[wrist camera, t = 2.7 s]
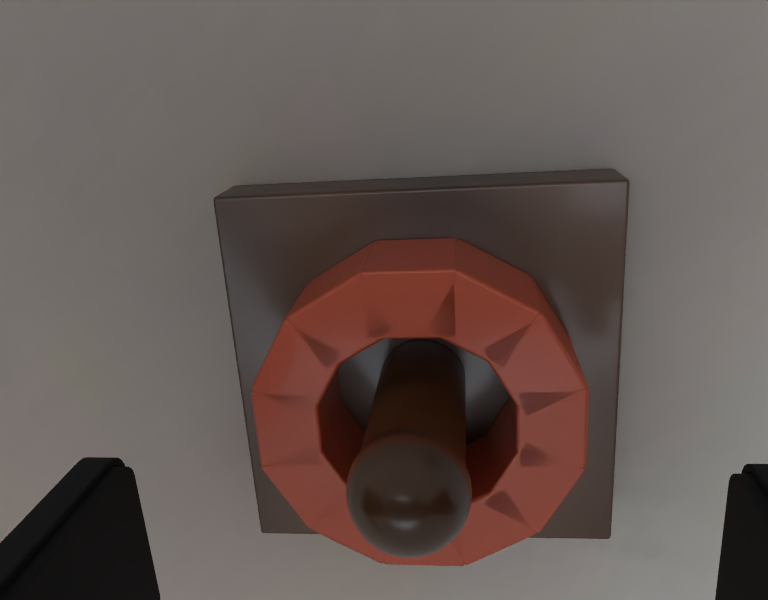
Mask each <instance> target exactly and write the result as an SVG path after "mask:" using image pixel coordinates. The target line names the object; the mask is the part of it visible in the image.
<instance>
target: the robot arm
mask: <svg viewBox="0 0 768 600" xmlns="http://www.w3.org/2000/svg"><path fill="white" fill-rule="evenodd" d="M0 600H160V593H159V589H158V584H157V579H156V574H155V570H154V565H153V560H152V555H151V551H150V546H149V541H148V536H147V532H146V527H145V522H144V517H143V513H142V508H141V503H140V498H139V494H138V489H137V484H136V479H135V475H134V472H133V470H132V469H131V468H130V467H125V465H124V463H123V461H122V460H121V459H119V458H95V457H87V458H83V459H81V460H80V461H79V462H78V463H77V464H76V465H75V466H74V467H73V468H72V469H71V470H70V471H69V472H68V473H67V474H66V475H65V476H64V477H63V478H62V479H61V480H60V481H59V482H58V484H57V485H56V486H55V487H54V488H53V489H52V490H51V491H50V492H49V493H48V494H47V495H46V496H45V497H44V498H43V499H42V500H41V501H40V502H39V503H38V504H37V505H36V506H35V508H34V509H33V510H32V511H31V512H30V513H29V514H28V515H27V516H26V517H25V518H24V519H23V520H22V521H21V522H20V523H19V524H18V525H17V526H16V527H15V528H14V529H13V530H12V532H11V533H10V534H9V535H8V536H7V537H6V538H5V539H4V540H3V541H2V542H1V543H0ZM715 600H768V464H747V465H745V466H744V468H743V470H742V474H732V475H731V477H730V480H729V486H728V495H727V504H726V512H725V521H724V529H723V538H722V546H721V555H720V564H719V572H718V581H717V589H716V598H715Z"/></svg>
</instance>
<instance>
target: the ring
mask: <svg viewBox="0 0 768 600" xmlns="http://www.w3.org/2000/svg"><path fill="white" fill-rule="evenodd" d="M393 338H442V339H444V340H446V341H448V342H450V343H452V344H454V345H456V346H458V347H460V348H462V349H464V350H466V351H468V352H470V353H472V354H473V355H475V356H477V357H479V358H481V359H483V360H485V361H487V362H488V363H489V364H490V366H491V367H492V369H493V370H494V372H495V374H496V375H497V377H498V378H499V380H500V381H501V383H502V384H503V386H504V387H505V389H506V390H507V392H508V393H509V400H508V402H507V403H506V405H505V406H504V408H503V409H502V411H501V413H500V414H499V416H498V417H497V419H496V420H495V422H494V423H493V425H492V426H491V428H490V430H489V431H488V433H487V434H486V435H485V436H483V437H481V438H479V439H477V440H475V441H473V442H471V443H469V444H467V445H466V467H467V469H468V472H469V475H470V479H471V486H472V502H471V508H470V512H469V515H468V517H467V520H466V522H465V524H464V526H463V528H462V529H461V531H460V532H459V534H458V535H457V536H456V537H455V538H454V539H453V540H452V541H451V542H450V543H449V544H448V545H447V546H445V547H444V548H442V549H441V550H439V551H437V552H435V553H433V554H430V555H427V556H423V557H418V558H401V557H396V556H392V555H389V554H387V553H384V552H382V551H380V550H378V549H377V548H375V547H374V546H372V545H371V544H370V543H369V542H368V541H367V540H366V539H364V537H363V536H362V535H361V534H360V533H359V531H358V530H357V528H356V527H355V525H354V523H353V521H352V519H351V516H350V513H349V510H348V506H347V500H346V485H347V478H348V474H349V471H350V468H351V466H352V464H353V461H354V459H355V458H356V456H357V455H358V453H359V452H360V450H361V446H362V442H363V439H364V435H365V433H364V432H363V430H362V429H361V428H360V426H359V425H358V423H357V422H356V421H355V419H354V418H353V417H352V415H351V414H350V412H349V411H348V410H347V408H346V407H345V406H344V404H343V403H342V402H341V400H340V390H339V379H338V367H339V365H340V363H342V362H344V361H346V360H347V359H349V358H351V357H353V356H354V355H356V354H358V353H360V352H361V351H363V350H365V349H366V348H368V347H370V346H372V345H373V344H375V343H377V342H379V341H380V340H382V339H393ZM251 399H252V406H253V414H254V421H255V428H256V435H257V442H258V449H259V456H260V463H261V468H262V470H263V471H264V472H265V474H266V475H267V476H268V477H269V479H270V480H271V481H272V482H273V484H274V485H275V486H276V488H277V489H278V490H279V491H280V493H281V494H282V495H283V496H284V498H285V499H286V500H287V502H288V503H289V504H290V505H291V507H292V508H293V509H294V510H295V512H296V513H297V514H298V516H299V517H300V518H301V519H302V521H303V522H304V523H305V524H306V526H307V527H308V528H309V529H312V530H313V531H315V532H317V533H319V534H321V535H323V536H325V537H327V538H329V539H332V540H334V541H336V542H338V543H340V544H342V545H344V546H346V547H348V548H350V549H352V550H354V551H356V552H359V553H361V554H363V555H365V556H367V557H369V558H371V559H373V560H375V561H377V562H379V563H384V564H398V565H443V566H463V565H468V564H470V563H473V562H475V561H477V560H479V559H481V558H484V557H486V556H488V555H490V554H492V553H495V552H497V551H499V550H501V549H503V548H506V547H508V546H510V545H512V544H515V543H517V542H519V541H521V540H523V539H526V538H528V537H530V536H532V535H534V534H536V533H537V532H540V531H541V530H542V529H543V527H544V526H545V525H546V523H547V522H548V520H549V519H550V518H551V516H552V515H553V514H554V512H555V511H556V509H557V508H558V507H559V505H560V504H561V503H562V501H563V500H564V498H565V497H566V496H567V494H568V493H569V492H570V490H571V489H572V487H573V486H574V485H575V483H576V482H577V481H578V479H579V478H580V476H581V475H582V474H583V472H584V471H585V466H586V454H587V427H588V400H589V389H588V385H587V382H586V379H585V376H584V374H583V371H582V368H581V366H580V363H579V360H578V358H577V355H576V353H575V350H574V347H573V345H572V342H571V339H570V338H569V336H568V334H567V333H566V331H565V330H564V328H563V326H562V325H561V323H560V322H559V320H558V318H557V317H556V315H555V313H554V312H553V310H552V309H551V307H550V305H549V304H548V302H547V301H546V299H545V297H544V296H543V294H542V293H541V291H540V289H539V288H538V286H537V284H536V283H535V281H534V280H533V278H532V277H530V276H529V275H528V274H526V273H524V272H522V271H521V270H519V269H517V268H515V267H513V266H511V265H509V264H507V263H505V262H503V261H501V260H499V259H497V258H495V257H493V256H491V255H489V254H488V253H486V252H484V251H482V250H480V249H478V248H476V247H474V246H472V245H470V244H468V243H466V242H464V241H462V240H459V239H457V238H436V239H407V240H378V241H375V242H374V243H370V244H369V245H367V246H366V247H364V248H362V249H361V250H359V251H358V252H356V253H354V254H353V255H351V256H350V257H348V258H346V259H345V260H343V261H342V262H340V263H338V264H337V265H335V266H334V267H332V268H330V269H329V270H327V271H326V272H324V273H322V274H321V275H319V276H318V277H316V278H314V279H313V280H311V282H310V283H309V284H308V285H307V286H306V287H305V289H304V290H303V292H302V293H301V295H300V296H299V298H298V299H297V301H296V302H295V303H294V305H293V306H292V308H291V309H290V311H289V312H288V314H287V315H286V317H285V318H284V320H283V322H282V324H281V326H280V328H279V330H278V332H277V334H276V336H275V338H274V341H273V343H272V345H271V347H270V349H269V351H268V353H267V355H266V357H265V359H264V361H263V364H262V366H261V368H260V370H259V372H258V374H257V376H256V378H255V380H254V382H253V384H252V390H251Z"/></svg>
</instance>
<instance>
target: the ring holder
mask: <svg viewBox="0 0 768 600" xmlns="http://www.w3.org/2000/svg"><path fill="white" fill-rule="evenodd" d="M628 199H629V180H628V179H627V178H625V177H624V176H623V175H622V174H620V173H619V172H618V171H616V170H615V169H595V170H573V171H551V172H529V173H507V174H486V175H464V176H442V177H420V178H398V179H376V180H354V181H332V182H310V183H288V184H266V185H244V186H234V187H232V188H230V189H228V190H227V191H225V192H223V193H221V194H220V195H218V196H216V197H215V198H214V200H213V201H214V208H215V215H216V222H217V229H218V235H219V242H220V249H221V256H222V263H223V270H224V277H225V284H226V291H227V298H228V304H229V311H230V318H231V325H232V332H233V339H234V346H235V353H236V360H237V367H238V374H239V380H240V387H241V394H242V401H243V408H244V415H245V422H246V429H247V436H248V443H249V450H250V456H251V463H252V470H253V477H254V484H255V491H256V498H257V505H258V512H259V519H260V526H261V531H262V533H295V534H319V533H317V532H315V531H313V530H312V529H309V528H308V527H307V526H306V524H305V523H304V522H303V521H302V519H301V518H300V517H299V516H298V514H297V513H296V512H295V510H294V509H293V508H292V507H291V505H290V504H289V503H288V502H287V500H286V499H285V498H284V496H283V495H282V494H281V493H280V491H279V490H278V489H277V488H276V486H275V485H274V484H273V482H272V481H271V480H270V479H269V477H268V476H267V475H266V474H265V472H264V471H263V470H262V468H261V463H260V456H259V449H258V442H257V435H256V428H255V421H254V414H253V406H252V399H251V390H252V384H253V382H254V380H255V378H256V376H257V374H258V372H259V370H260V368H261V366H262V364H263V361H264V359H265V357H266V355H267V353H268V351H269V349H270V347H271V345H272V343H273V341H274V338H275V336H276V334H277V332H278V330H279V328H280V326H281V324H282V322H283V320H284V318H285V317H286V315H287V314H288V312H289V311H290V309H291V308H292V306H293V305H294V303H295V302H296V301H297V299H298V298H299V296H300V295H301V293H302V292H303V290H304V289H305V287H306V286H307V285H308V284H309V283H310V282H311V280H313V279H314V278H316V277H318V276H319V275H321V274H322V273H324V272H326V271H327V270H329V269H330V268H332V267H334V266H335V265H337V264H338V263H340V262H342V261H343V260H345V259H346V258H348V257H350V256H351V255H353V254H354V253H356V252H358V251H359V250H361V249H362V248H364V247H366V246H367V245H369V244H370V243H374V242H375V241H378V240H407V239H436V238H457V239H459V240H462V241H464V242H466V243H468V244H470V245H472V246H474V247H476V248H478V249H480V250H482V251H484V252H486V253H488V254H489V255H491V256H493V257H495V258H497V259H499V260H501V261H503V262H505V263H507V264H509V265H511V266H513V267H515V268H517V269H519V270H521V271H522V272H524V273H526V274H528V275H529V276H530V277H532V278H533V280H534V281H535V283H536V284H537V286H538V288H539V289H540V291H541V293H542V294H543V296H544V297H545V299H546V301H547V302H548V304H549V305H550V307H551V309H552V310H553V312H554V313H555V315H556V317H557V318H558V320H559V322H560V323H561V325H562V326H563V328H564V330H565V331H566V333H567V334H568V336H569V338H570V339H571V342H572V345H573V347H574V350H575V353H576V355H577V358H578V360H579V363H580V366H581V368H582V371H583V374H584V376H585V379H586V382H587V385H588V389H589V400H588V427H587V454H586V466H585V471H584V472H583V474H582V475H581V476H580V478H579V479H578V481H577V482H576V483H575V485H574V486H573V487H572V489H571V490H570V492H569V493H568V494H567V496H566V497H565V498H564V500H563V501H562V503H561V504H560V505H559V507H558V508H557V509H556V511H555V512H554V514H553V515H552V516H551V518H550V519H549V520H548V522H547V523H546V525H545V526H544V527H543V529H542V530H541V531H540V532H537V533H536V534H534V535H532V536H530V538H588V539H609V538H610V536H611V522H612V503H613V484H614V465H615V446H616V427H617V408H618V389H619V370H620V351H621V332H622V313H623V294H624V275H625V256H626V237H627V218H628ZM338 379H339V390H340V400H341V402H342V403H343V404H344V406H345V407H346V408H347V410H348V411H349V412H350V414H351V415H352V417H353V418H354V419H355V421H356V422H357V423H358V425H359V426H360V428H361V429H362V430H363V432H364V433H365V435H364V439H363V442H362V446H361V450H360V452H359V453H358V455H357V456H356V458H355V459H354V461H353V464H352V466H351V468H350V471H349V474H348V478H347V485H346V500H347V506H348V510H349V513H350V516H351V519H352V521H353V523H354V525H355V527H356V528H357V530H358V531H359V533H360V534H361V535H362V536H363V537H364V539H366V540H367V541H368V542H369V543H370V544H371V545H372V546H374V547H375V548H377V549H378V550H380V551H382V552H384V553H387V554H389V555H392V556H396V557H401V558H418V557H423V556H427V555H430V554H433V553H435V552H437V551H439V550H441V549H442V548H444V547H445V546H447V545H448V544H449V543H450V542H451V541H452V540H453V539H454V538H455V537H456V536H457V535H458V534H459V532H460V531H461V529H462V528H463V526H464V524H465V522H466V520H467V517H468V515H469V512H470V508H471V502H472V486H471V479H470V475H469V472H468V469H467V467H466V445H467V444H469V443H471V442H473V441H475V440H477V439H479V438H481V437H483V436H485V435H486V434H487V433H488V431H489V430H490V428H491V426H492V425H493V423H494V422H495V420H496V419H497V417H498V416H499V414H500V413H501V411H502V409H503V408H504V406H505V405H506V403H507V402H508V400H509V393H508V392H507V390H506V389H505V387H504V386H503V384H502V383H501V381H500V380H499V378H498V377H497V375H496V374H495V372H494V370H493V369H492V367H491V366H490V364H489V363H488V362H487V361H485V360H483V359H481V358H479V357H477V356H475V355H473V354H472V353H470V352H468V351H466V350H464V349H462V348H460V347H458V346H456V345H454V344H452V343H450V342H448V341H446V340H444V339H442V338H393V339H382V340H380V341H379V342H377V343H375V344H373V345H372V346H370V347H368V348H366V349H365V350H363V351H361V352H360V353H358V354H356V355H354V356H353V357H351V358H349V359H347V360H346V361H344V362H342V363H340V365H339V367H338Z"/></svg>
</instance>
